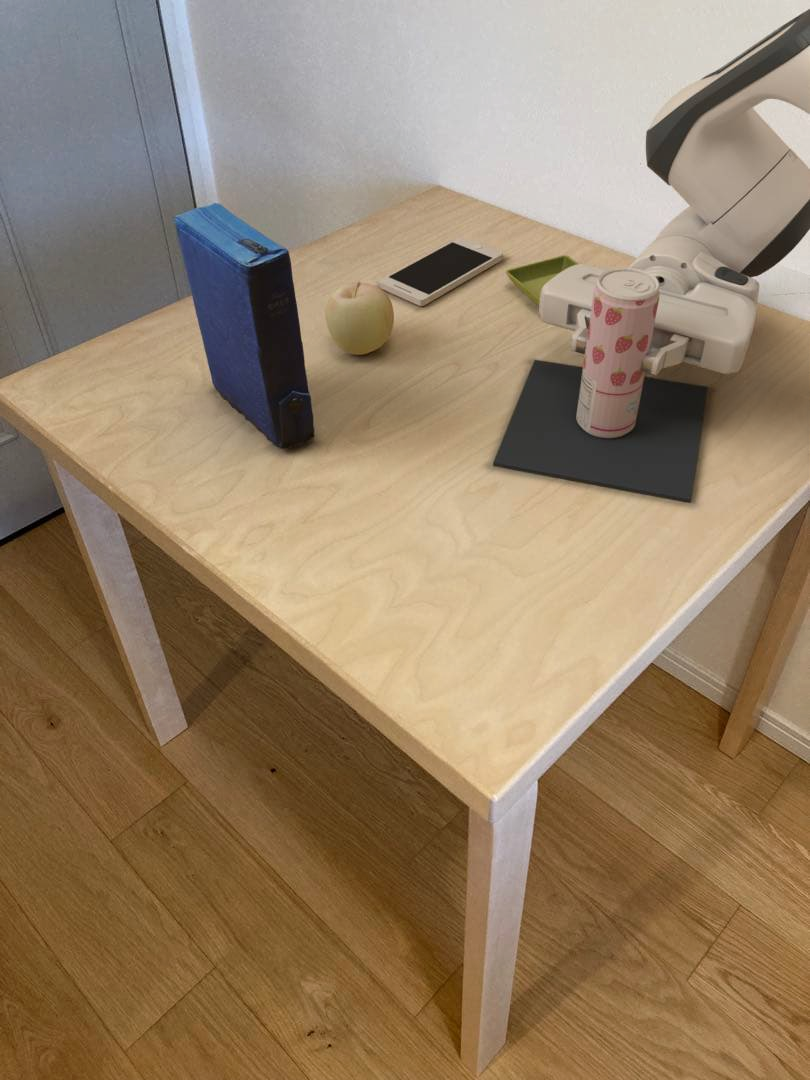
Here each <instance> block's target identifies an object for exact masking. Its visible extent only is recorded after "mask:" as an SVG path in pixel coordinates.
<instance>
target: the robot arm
mask: <svg viewBox="0 0 810 1080" xmlns="http://www.w3.org/2000/svg"><path fill="white" fill-rule="evenodd" d="M768 100H777V101H781V102H784V103H788V104H790V105H792V106H794V107H796V108H798V109H800V110H801V111H803V112H805V113H807V114H808V115H810V8H808V9H807V10H805V11H803V12H802V13H800V14H798V15H797V16H795V17H794V18H792V19H791V20H789V21H788V22H786V23H785V24H782V25H781V26H780V27H778V28H777V29H774V30H773V31H772V32H771V33H769V34H768V35H766V36H765V37H763V38H762V39H760V40H759V41H757V42H756V43H755V44H753V45H752V46H751V47H749V48H748V49H746V50H745V51H743V52H742V53H740V54H739V55H737V56H735V58H732V60H730V61H729V62H727V63H726V64H724V65H723V66H722V67H720V68H718V69H716V70H715V71H713V72H710V73H708V74H707V75H705V76H703V77H702V78H700V79H699V80H696V81H694V82H693V83H690V84H688V85H687V86H685V87H684V88H681V89H680V90H679V91H678V92H677V93H675V94H673V96H672V97H671V98H669V100H668V101H667V102H666V103H665V104H663V106H661V108H660V110H659V111H658V112H657V113H656V115H655V116H654V118H653V119H652V120H651V123H650V124H649V127H648V129H647V130H646V131H645V158H646V167H647V168H648V169H650V170H651V171H652V173H654V174H655V175H656V176H657V177H658V178H660V179H661V180H662V181H663V182H664V183H665V184H666V185H668V186H669V187H670V186H671V187H672V189H673V190H674V191H675V192H676V193H677V194H678V195H679V196H680V197H681V198H682V199H683V201H685V202H686V204H688V207H687V208H685V209H684V210H682V211H681V212H680V213H678V214H677V215H675V217H673V218H672V219H671V220H670V221H669V222H668V223H667V224H666V225H665V226H664V227H663V228H662V229H661V231H660V232H659V233H658V234H657V236H656V237H655V240H653V241H652V242H651V243H649V244H648V245H647V246H646V247H645V248H644V250H643V251H642V252H640V254H639V255H638V256H637V258H635V260H634V261H633V262H632V263H631V264H630V265H629V266H628V268H636V269H640V270H644V271H646V272H649V273H650V274H652V275H654V276H655V277H656V278H657V280H658V282H659V285H660V288H659V293H660V297H659V302H658V308H657V313H656V318H655V324H654V329H653V334H652V339H651V345H650V349H649V351H648V352H647V354H645V356H644V357H643V360H642V364H643V365H642V366H641V371H643V372H645V374H649V375H652V376H655V377H657V376H658V375H659V374H660V372H661V370H662V369H666V368H670V367H673V366H677V365H680V364H681V363H684V364H686V365H687V364H688V365H690V366H695V367H698V368H702V369H705V370H708V371H711V372H716V373H719V374H722V375H730V374H734V373H737V372H739V371H740V370H741V368H742V366H743V364H744V362H745V360H746V359H745V358H746V355H747V352H748V349H749V345H750V342H751V339H752V336H753V331H754V327H755V323H756V320H757V315H758V310H757V305H758V300H759V294H760V293H759V292H760V282H759V281H758V280H756V279H755V277H759V276H760V275H762V274H764V273H765V272H768V271H769V270H771V269H772V268H774V267H775V266H776V265H778V264H779V263H780V262H781V261H782V260H784V259H785V257H787V256H788V255H789V254H790V253H791V252H792V251H793V250H794V249H795V248H796V247H797V246H798V244H799V243H801V241H802V240H803V238H804V237H805V236H806V235H807V233H809V231H810V167H809V166H808V165H807V164H806V163H805V162H804V160H802V159H801V158H800V156H799V155H798V154H797V153H796V152H795V151H794V150H793V149H792V148H790V146H788V145H787V143H786V142H785V141H784V140H783V139H782V138H781V137H780V136H779V135H778V134H777V133H776V131H774V129H773V128H772V127H771V126H770V125H769V124H768V123H767V122H766V121H765V119H763V118H762V117H761V115H759V113H758V112H757V111H756V110H755V109H754V107H756V106H758V105H759V104H762V103H763V102H765V101H768ZM607 270H610V269H608V268H605V267H600V266H596V265H593V264H586V263H578V265H574V266H571V267H569V268H567V269H565V270H564V271H562V272H560V273H559V274H558V275H556V276H555V277H553V278H552V279H551V280H549V281H548V282H547V283H546V284H545V285H544V286H543V287H542V290H541V294H540V301H539V305H538V314H539V316H540V317H539V318H540V319H541V321H542V322H543V323H545V324H547V325H551V326H555V327H558V328H562V329H566V330H568V331H573V332H574V333H573V335H572V337H571V343H570V351H571V352H574V353H578V354H581V355H585V350H586V343H587V336H588V329H589V322H590V315H591V307H592V300H593V293H594V288H595V286H596V284H597V279H598V278H599V276H600V275H601V274H602V273H604V272H605V271H607Z"/></svg>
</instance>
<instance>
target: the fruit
mask: <svg viewBox="0 0 810 1080" xmlns="http://www.w3.org/2000/svg"><path fill="white" fill-rule="evenodd" d="M324 313H325V322H326V327H327V330H328V332H329V335H330V337H331V339H332V341H333V342H334V343H335V345H336V346H337V347H338V348H339V349H340V350H342V351H344V352H345V353H348V354H350V355H357V356H359V355H361V356H363V355H367V354H369V353H371V352H374V351H377V350H378V349H380V348H381V347H382V346H383V345H385V344H386V342H387V341H388V339H389V337H390V336H391V334H392V331H393V327H394V323H395V313H394V305H393V303H392V301H391V298H390V297H389V295H388V294H387V293H386V291H385V290H383V289H381V288H380V287H379V286H377V285H374V284H370V283H366V282H360V281H355V282H349V283H347V284H344V285H342V286H341V287H339V288H337V289H336V290H335V291H334V292H333V293H332V294H331V295H330V297H329V299H328V301H327V303H326V306H325V312H324Z"/></svg>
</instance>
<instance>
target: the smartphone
mask: <svg viewBox="0 0 810 1080" xmlns="http://www.w3.org/2000/svg"><path fill="white" fill-rule="evenodd" d="M503 259H504V252H503V251H500V250H498V249H496V248H493V247H491V246H487V245H485V244H482V243H480V242H478V241H474V240H473V239H469V238H466V237H464V236H459V237H457V238H454V239H453V240H451V241H450V242H448V243H445V244H444V245H442V246H440V247H439V248H437V249H435V250H433V251H431V252H429V253H428V254H426V255H424V256H421V257H420V258H418V259H416V260H414V261H413V262H411V263H409V264H407V265H405V266H404V267H402V268H399V269H398V270H396V271H394V272H392V273H390V274H388V275H387V276H385V277H383V278H381V279H380V280H379V281H378V283H379V285H378V287H379V288H380V289H382V290H383V291H385V292H388V293H390V294H392V295H395V296H397V297H399V298H401V299H404V300H406V301H407V302H410V303H413V304H415V305H416V306H419V307H423V306H426V305H427V304H429V303H431V302H433V301H435V300H436V299H438V298H439V297H441V296H444V294H447V293H448V292H450V291H452V290H453V289H455V288H456V287H458V286H460V285H462V284H463V283H465V282H467V281H469V280H470V279H472V278H474V277H476V276H477V275H479V274H481V273H483V272H485V270H487V269H489V268H491V267H493V266H494V265H496V264H498V263H500V262H501V261H503Z"/></svg>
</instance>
